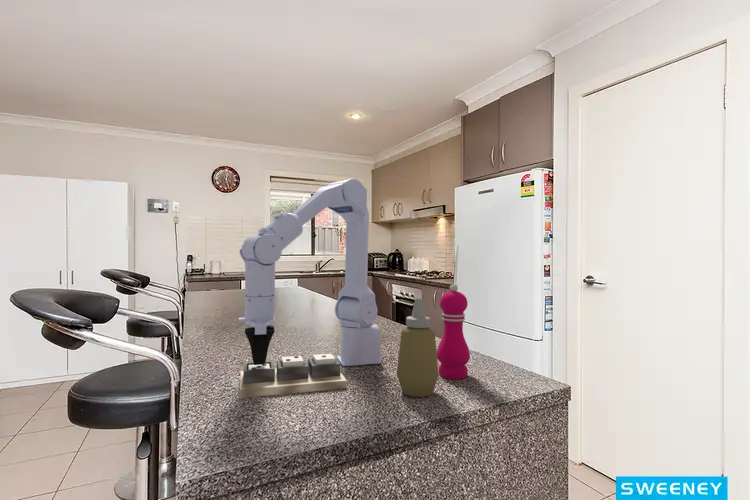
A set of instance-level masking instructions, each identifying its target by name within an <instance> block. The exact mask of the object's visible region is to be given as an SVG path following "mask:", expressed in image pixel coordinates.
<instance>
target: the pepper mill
mask: <svg viewBox="0 0 750 500" xmlns="http://www.w3.org/2000/svg"><path fill="white" fill-rule="evenodd" d="M458 289H459V288H458V285H457V284H454V283H453V284H450V286H449V291H446V292H445V293H443V294H442V295H441V297H440V299H439V307H440V309H441V310H442V311H443V312H442V313H441V316H442V317H441V320H442V321H443V325H444V327H443V333H442V337H441V339H440V341H439V344H438V345H437V347H436V351H437V361H438V362H439V363H440V364H439V365H438V374H439V376H440V377H442V378H446V379H450V380H461V379H465V378H467V377H468V367H467V366H466V365H467V364H468V363H469V361H470V358H471V355H470V348H469V346H468V343H467V341H466V339H465V336H464V332H463V331H464V329H463V327H464V321H465V320H466V318H465V316H466V313H465V311H466V310H467V309H468V299H467V297H466V295H465V294H463V293H462V292H461V291H458Z"/></svg>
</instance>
